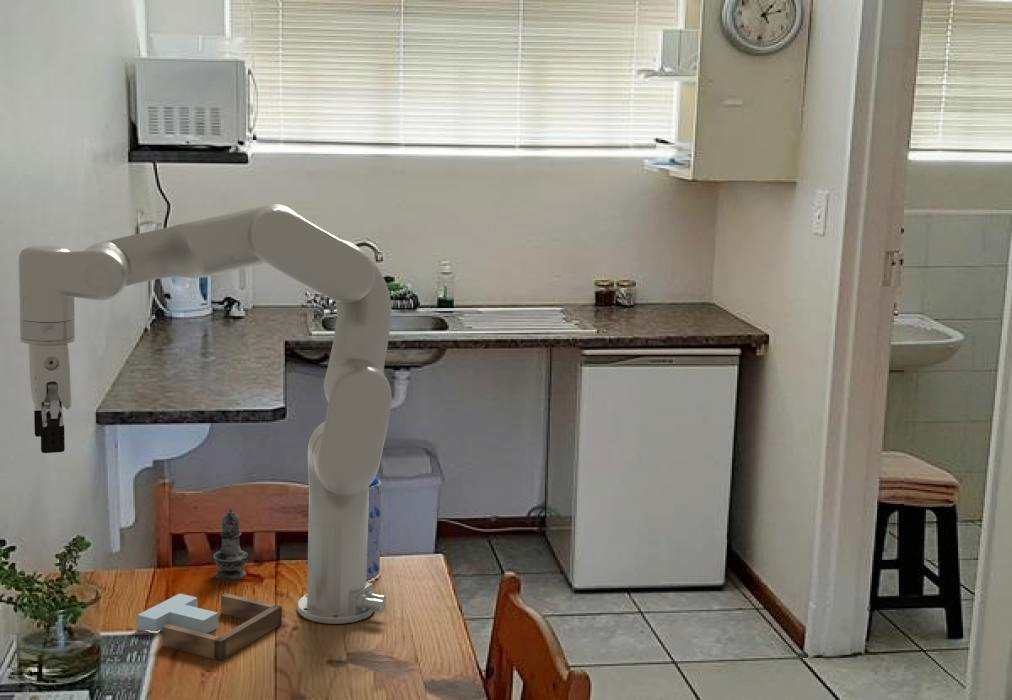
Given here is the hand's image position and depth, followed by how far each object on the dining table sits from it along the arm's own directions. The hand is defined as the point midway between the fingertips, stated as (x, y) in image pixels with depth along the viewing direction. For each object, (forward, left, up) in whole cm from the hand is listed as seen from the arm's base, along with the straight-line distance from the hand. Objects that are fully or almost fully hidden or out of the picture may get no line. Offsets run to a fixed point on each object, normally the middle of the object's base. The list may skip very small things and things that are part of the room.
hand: (49, 443), depth 184 cm
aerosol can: (-29, -42, -29) cm, 59 cm away
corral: (-24, -10, -29) cm, 39 cm away
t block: (-17, -10, -29) cm, 35 cm away
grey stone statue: (-10, -31, -29) cm, 44 cm away
